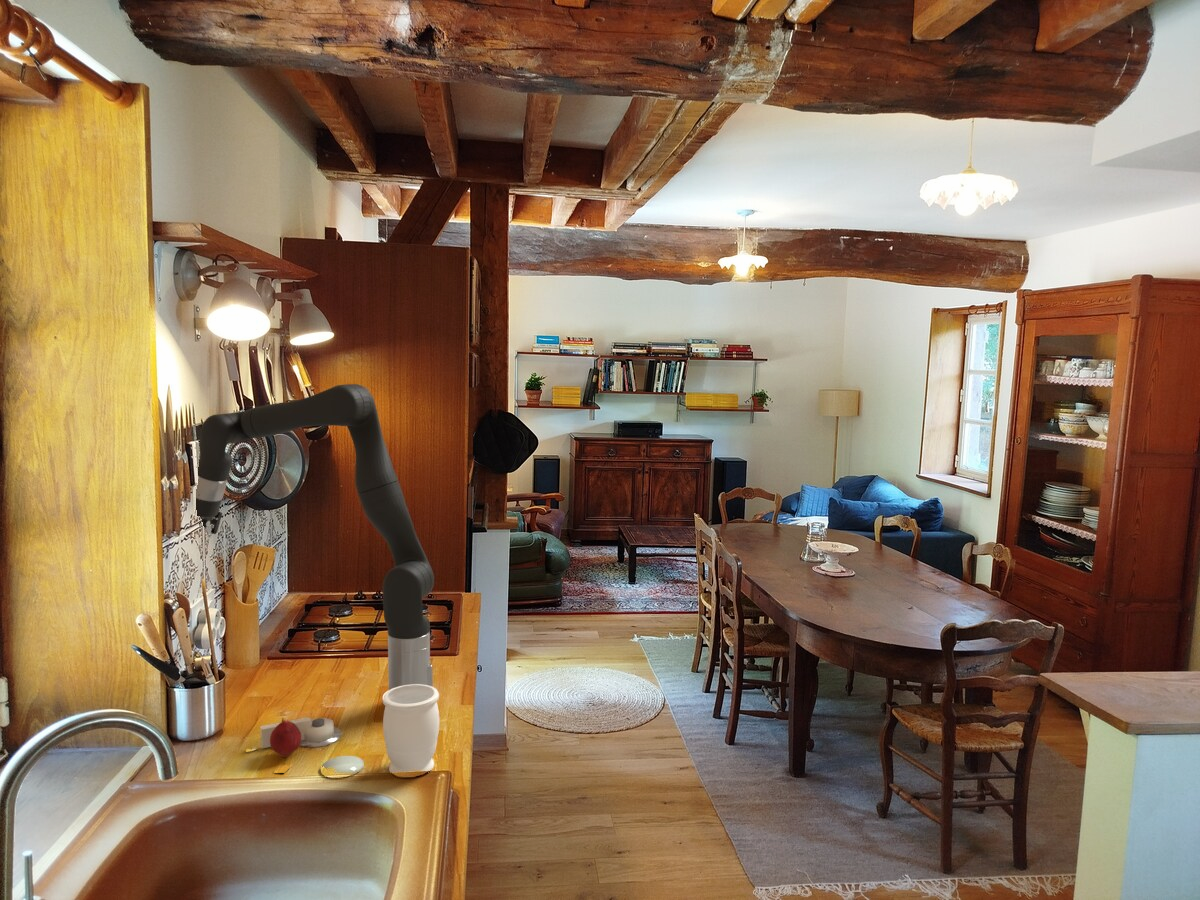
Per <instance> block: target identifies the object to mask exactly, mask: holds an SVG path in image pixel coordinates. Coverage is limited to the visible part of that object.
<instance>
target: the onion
mask: <svg viewBox="0 0 1200 900" xmlns="http://www.w3.org/2000/svg"><path fill="white" fill-rule="evenodd" d="M290 721H291V720H288V719H287V718H286V717H282V718H281V723H280V722H279V723H280V724H278V725H277V726H276V727H275V729H274V730H273V731H272V733H271V736H270V745H271V747H270V748H272V750H273V751H274V752H275V753H276V754H278V755H280V756H281V757H283V756H284V757H283V758H287V757H289V756H290V755H292V754H293V753H294V752H295V751H296V750H298V748H299V746H300V743H301V739H302V737H301V732H300V730H299V728H298V727H297V726H296V725H295V724H294V723H292V722H290ZM286 756H287V757H286Z"/></svg>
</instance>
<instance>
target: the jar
mask: <svg viewBox="0 0 1200 900" xmlns="http://www.w3.org/2000/svg"><path fill="white" fill-rule="evenodd" d="M382 695H383V696H382V703H383V705H384V706H385V707H384V712H383V720H382V731H383V738H384V743H385V749H386V754H387V756H388V759H389V761H390V764H389V767H388V770H389V773H391V772H409V771H430V770H431V771H432V770H433V769H434V767H435V761H434V759H433V757H434V755H435V752H436V749H437V744H438V736H439V731H440V712H439V707H438V706H439V705H438V701H439V698H440V693H439V690H438V689H437V688H436V687H435V686H433V687H432V686H429V685H423V684H409V685H403V686H399V687H395V688H393V689H390V690H389V689H388V690H387V691H386V692H384V693H383V694H382ZM431 771H430V772H431Z"/></svg>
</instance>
